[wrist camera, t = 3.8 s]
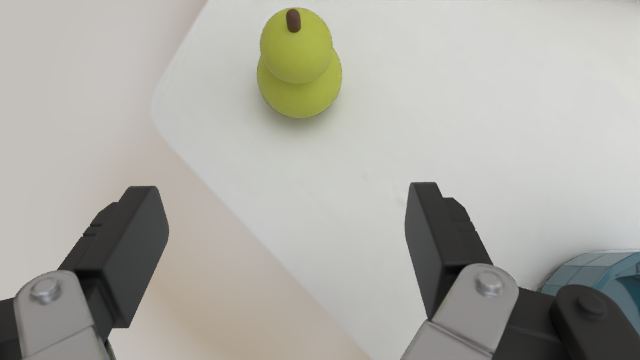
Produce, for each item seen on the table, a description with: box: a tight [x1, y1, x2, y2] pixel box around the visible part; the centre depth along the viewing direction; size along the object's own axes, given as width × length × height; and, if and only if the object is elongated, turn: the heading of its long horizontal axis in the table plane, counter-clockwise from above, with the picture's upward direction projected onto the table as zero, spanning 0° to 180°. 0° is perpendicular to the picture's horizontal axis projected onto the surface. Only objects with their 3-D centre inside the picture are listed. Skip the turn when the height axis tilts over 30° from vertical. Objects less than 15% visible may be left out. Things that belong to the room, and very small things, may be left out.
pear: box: [257, 8, 342, 118], centre depth 24 cm, size 5×5×9 cm
